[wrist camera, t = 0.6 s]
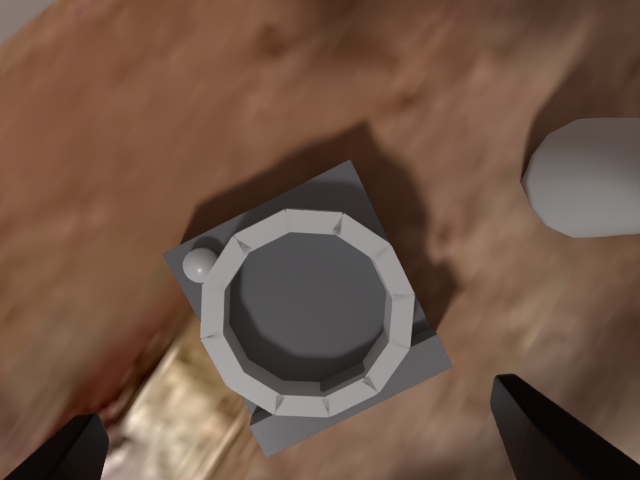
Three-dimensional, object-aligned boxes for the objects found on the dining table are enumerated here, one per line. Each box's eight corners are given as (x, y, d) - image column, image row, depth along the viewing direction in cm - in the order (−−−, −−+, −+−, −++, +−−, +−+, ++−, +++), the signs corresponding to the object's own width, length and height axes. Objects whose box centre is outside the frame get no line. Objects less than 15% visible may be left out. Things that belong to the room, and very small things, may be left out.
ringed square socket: (431, 340, 23) (456, 371, 19) (272, 418, 24) (265, 464, 20) (345, 162, 22) (353, 156, 18) (178, 246, 22) (150, 258, 18)
